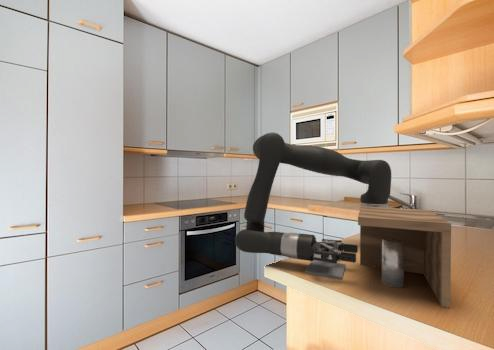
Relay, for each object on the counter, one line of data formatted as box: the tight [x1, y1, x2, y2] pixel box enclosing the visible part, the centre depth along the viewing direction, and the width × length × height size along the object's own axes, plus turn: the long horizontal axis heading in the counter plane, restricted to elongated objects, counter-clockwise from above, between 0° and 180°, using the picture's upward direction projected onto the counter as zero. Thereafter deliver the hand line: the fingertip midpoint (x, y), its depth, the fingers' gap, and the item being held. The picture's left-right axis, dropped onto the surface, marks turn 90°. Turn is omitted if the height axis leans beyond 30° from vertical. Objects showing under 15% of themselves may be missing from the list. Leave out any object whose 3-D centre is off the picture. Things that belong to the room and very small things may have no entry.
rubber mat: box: [304, 260, 347, 280], centre depth 76 cm, size 11×10×1 cm
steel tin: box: [381, 238, 405, 288], centre depth 66 cm, size 5×5×11 cm
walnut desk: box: [357, 206, 452, 309], centre depth 67 cm, size 21×18×18 cm
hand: (356, 253), depth 70 cm, fingers open, 8 cm apart
